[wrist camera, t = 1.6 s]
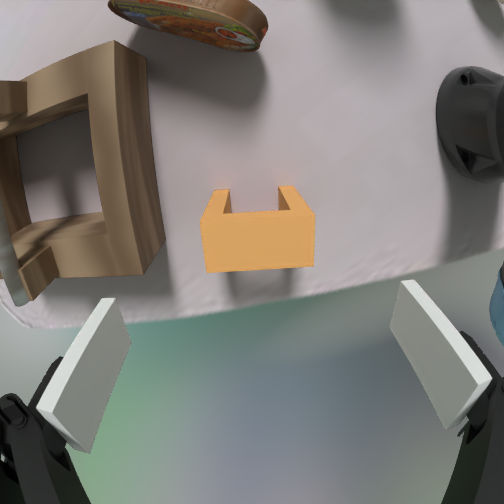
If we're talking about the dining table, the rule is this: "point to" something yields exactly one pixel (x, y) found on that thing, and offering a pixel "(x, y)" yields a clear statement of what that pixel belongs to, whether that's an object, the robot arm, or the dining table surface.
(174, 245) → the dining table surface
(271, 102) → the dining table surface
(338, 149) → the dining table surface
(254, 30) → the tin
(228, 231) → the orange u-shaped bracket
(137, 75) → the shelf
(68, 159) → the dining table surface
